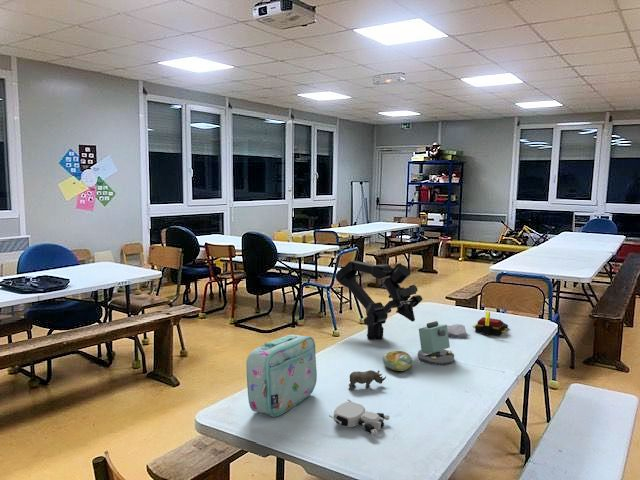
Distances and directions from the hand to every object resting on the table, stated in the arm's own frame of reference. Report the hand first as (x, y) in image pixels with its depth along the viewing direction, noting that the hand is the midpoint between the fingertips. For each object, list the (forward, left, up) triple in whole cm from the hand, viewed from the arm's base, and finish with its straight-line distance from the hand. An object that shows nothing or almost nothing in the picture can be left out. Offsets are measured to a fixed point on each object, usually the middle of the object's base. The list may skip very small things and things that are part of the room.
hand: (413, 321), depth 208 cm
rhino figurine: (-21, -37, -13) cm, 45 cm away
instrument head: (+8, -10, -9) cm, 15 cm away
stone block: (+22, +23, -13) cm, 34 cm away
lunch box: (-49, -51, -13) cm, 72 cm away
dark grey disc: (+8, -9, -13) cm, 17 cm away
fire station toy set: (+42, +30, -13) cm, 53 cm away
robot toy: (-25, -64, -13) cm, 70 cm away
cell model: (-8, -18, -13) cm, 24 cm away
